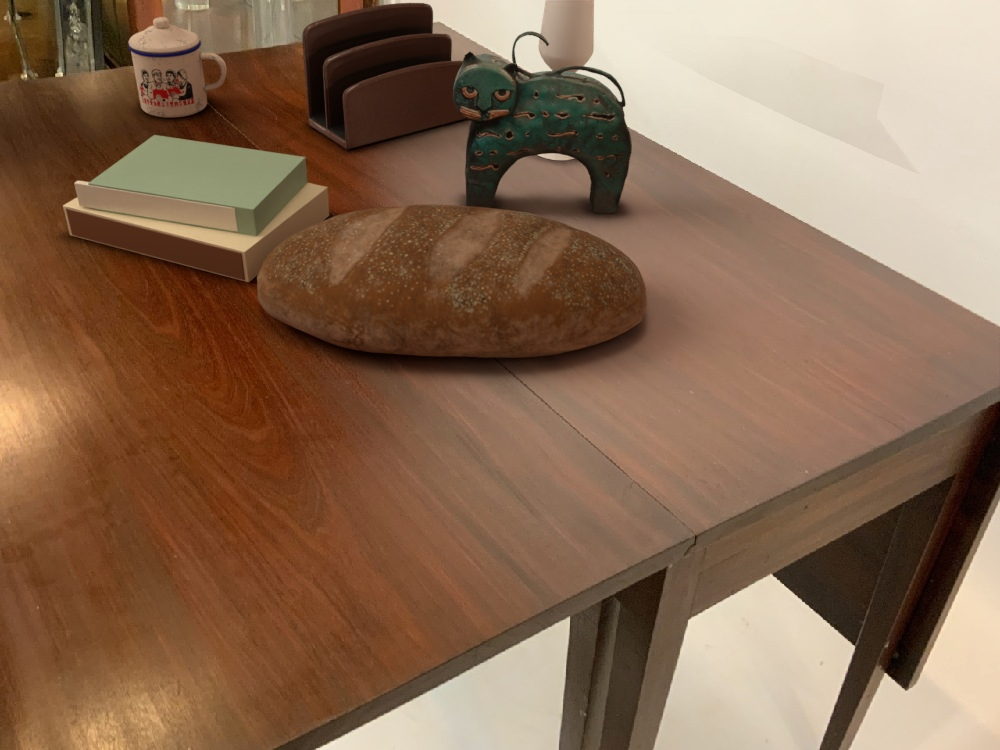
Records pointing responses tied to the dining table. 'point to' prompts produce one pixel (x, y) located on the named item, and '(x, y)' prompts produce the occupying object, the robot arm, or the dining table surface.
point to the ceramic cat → (540, 124)
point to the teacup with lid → (171, 70)
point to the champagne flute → (567, 39)
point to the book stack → (198, 204)
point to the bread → (452, 283)
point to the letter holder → (378, 74)
